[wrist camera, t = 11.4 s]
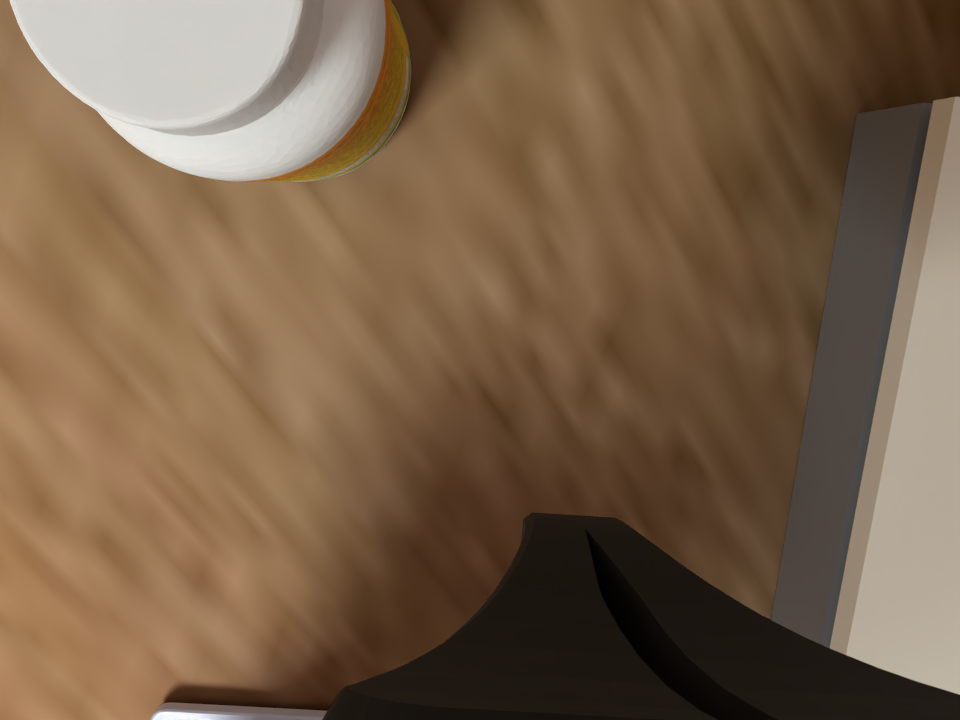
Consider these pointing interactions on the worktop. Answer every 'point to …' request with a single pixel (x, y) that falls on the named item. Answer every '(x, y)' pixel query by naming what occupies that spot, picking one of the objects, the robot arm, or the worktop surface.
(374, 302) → the worktop surface
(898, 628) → the panel
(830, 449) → the cable duct
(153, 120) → the supplement bottle
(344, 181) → the worktop surface
